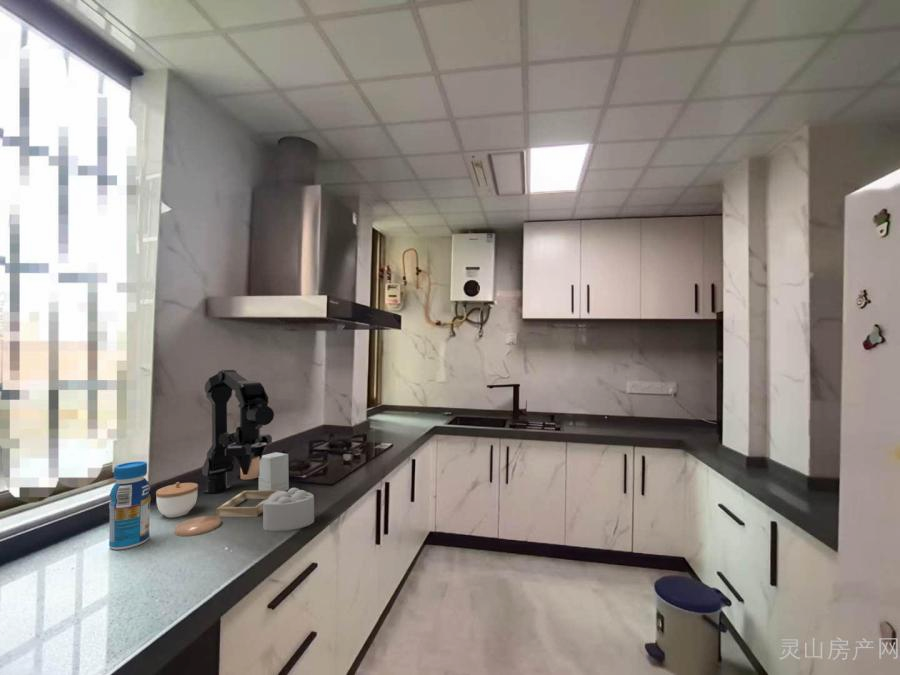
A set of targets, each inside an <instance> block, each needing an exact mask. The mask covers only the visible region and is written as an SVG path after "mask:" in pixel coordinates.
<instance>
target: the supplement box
mask: <svg viewBox="0 0 900 675" xmlns="http://www.w3.org/2000/svg"><path fill="white" fill-rule="evenodd" d="M289 478H290V477H289V453H282V452H277V451H275V452H271V453H267V454H263V456H262V458H261V460H260V476H259V477H258V491H261V490H279V491H286V492H287V491H288V490H289V489H290V488H289V487H290V486H289V485H290V484H289V483H290V480H289Z"/></svg>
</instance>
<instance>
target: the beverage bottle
mask: <svg viewBox="0 0 900 675" xmlns="http://www.w3.org/2000/svg"><path fill="white" fill-rule="evenodd" d="M147 474H148V463H147V462H146V461H143V460H141V461H129V462H124V463H121V464H117V465H115V466H114V468H113V479H114V480H115V481H116V482H115V483H114V485H112V486H113V487H112V488H111V489H110V493H109V497H110V498H111V499H110V500H109V503H108V509H109V537H108V538H109V540H108V546H109V549H111V550H115V551H117V550H127V549H131V548H135V547H138V546H140V545H142V544H144V543H146V541H148V540H149V539H150V518H151V517H150V516H151V514H150V512H151V511H150V510H151V499H152V498H151V494H150V493H149V492H150V491H151V485H150V483H149V481H148V480H147V479H146V478H145V476H147Z"/></svg>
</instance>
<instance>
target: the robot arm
mask: <svg viewBox="0 0 900 675" xmlns="http://www.w3.org/2000/svg"><path fill="white" fill-rule="evenodd" d="M233 390H234V392H235V397H236V399H237V401H238V402H239V404H238V408H239V426H237V427H236V428H235V432H232V433H229V432H228V402H229V401H230V399H231V398H232V396H233ZM204 392H205V393H206V399H208V401H209V402H210V404H211V435H212V436H211V446H210V447H209V449H208V451H207V453H206V458H205V460H204V463H203V465H202V468H201V473H202V475H203V476H204V477H207V489H206V490H204V491H203V494H221V493H223V492H226V491H227V490H228V489H230V488H232V485H228V483H227V481H228V472H229V473H230V472H233V471H234V464H235V459H237V461H238V464H239V468H240V467H241V469H242V472H243V475H247V474H248V471H249V468H250V464H251V461H252V458H253V456H260V460H261V458H262V456H263V455H265V454H264V453H265V452H266V449H267V448H268V445H269V444H272V442H273V437H272V436H271V434H269V433H268V434H261V428H263V426H267V425H269V424H270V423H271V422H273V420H274V416H275V413H274V410H273V408H271V407H270V406H268V404H269V403H270V402H269V396H268V394H267V392H266V390H265V387H264V386H263V384H262V383H261V382H260V381H255V380H248V379H246V378H245V377H243V376H242V375H240V374H239V373H238V372H237V370H235V369H221V370H219V371H218V373H216V374H214V375H213V376H211V377H209V378H208V379H207V381H206V382H205V384H204ZM264 443H265V445H264Z"/></svg>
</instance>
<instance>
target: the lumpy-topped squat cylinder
mask: <svg viewBox="0 0 900 675" xmlns="http://www.w3.org/2000/svg"><path fill="white" fill-rule="evenodd" d="M262 515H263V516H262V519H263V521H262V529H263V530H265V531H267V530H269V531H270V532H272V531H274V532H279V531H292V530H297V529H298V530H299V529H301V528H305V527H308V526H310V525H311V524H313V523H314V522H315V496H314V494H313V493H311V492H308V491H306V490H304V489H299V488H297V487H290V488H289V489H288V490H286V491H277V492H275V493H274V494H273V495H271V496H270V497H269V498H268V499H267V500H265V501H264V502H263V512H262Z"/></svg>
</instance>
